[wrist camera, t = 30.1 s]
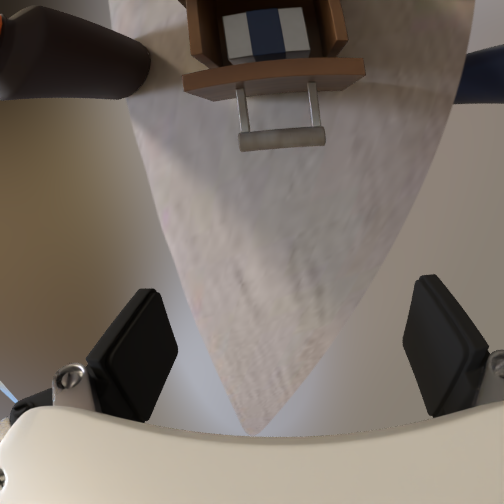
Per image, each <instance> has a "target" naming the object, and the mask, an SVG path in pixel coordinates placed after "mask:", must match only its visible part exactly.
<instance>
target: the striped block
mask: <svg viewBox="0 0 504 504" xmlns="http://www.w3.org/2000/svg"><path fill="white" fill-rule="evenodd" d="M222 21H223V28H224V35H225V42H226V49H227V56H228V60H229V61H230V62H231V63H232V64H233V65H237V64H244V63H252V62H260V61H269V60H280V59H295V58H308V57H309V54H310V51H311V48H310V42H309V37H308V32H307V27H306V22H305V17H304V13H303V8H302V7H290V8H269V9H260V10H253V11H246V12H245V13H238V14H232V15H227V16H222Z"/></svg>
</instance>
